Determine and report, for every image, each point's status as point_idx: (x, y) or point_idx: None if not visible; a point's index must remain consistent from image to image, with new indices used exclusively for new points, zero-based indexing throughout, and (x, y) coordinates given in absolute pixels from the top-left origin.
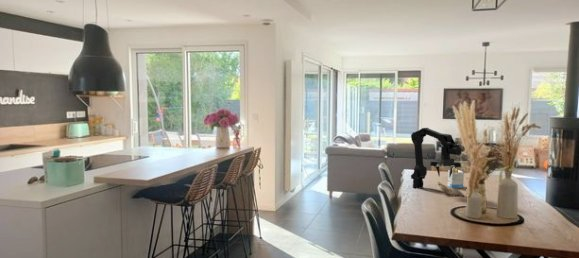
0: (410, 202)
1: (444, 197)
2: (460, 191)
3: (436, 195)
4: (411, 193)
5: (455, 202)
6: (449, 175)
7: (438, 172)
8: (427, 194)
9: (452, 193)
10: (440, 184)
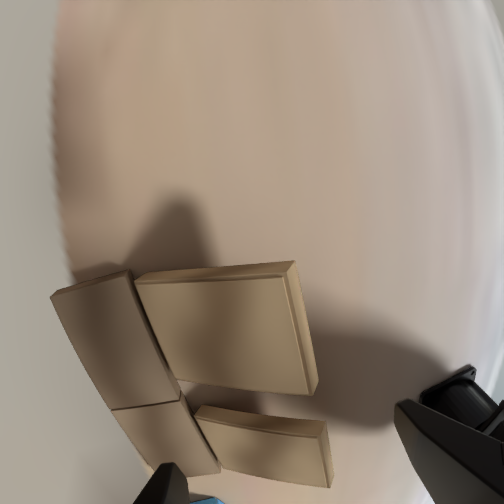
0: None
1: (224, 149)
2: (115, 416)
3: (316, 202)
4: (499, 177)
5: (106, 7)
6: (180, 496)
7: (477, 441)
8: (400, 202)
9: (147, 281)
10: (306, 432)
